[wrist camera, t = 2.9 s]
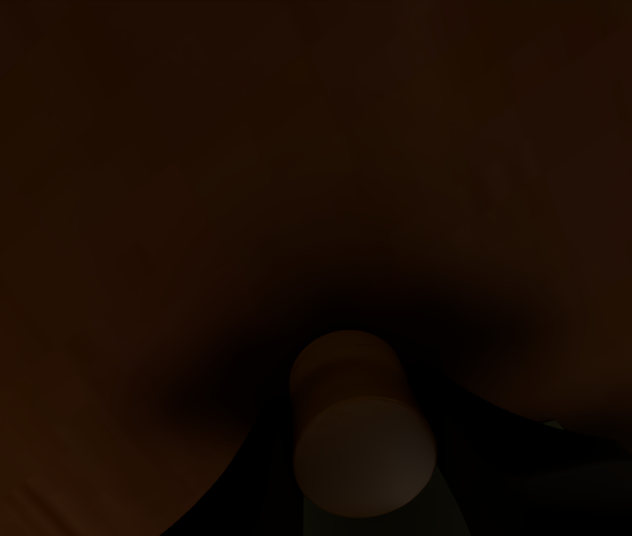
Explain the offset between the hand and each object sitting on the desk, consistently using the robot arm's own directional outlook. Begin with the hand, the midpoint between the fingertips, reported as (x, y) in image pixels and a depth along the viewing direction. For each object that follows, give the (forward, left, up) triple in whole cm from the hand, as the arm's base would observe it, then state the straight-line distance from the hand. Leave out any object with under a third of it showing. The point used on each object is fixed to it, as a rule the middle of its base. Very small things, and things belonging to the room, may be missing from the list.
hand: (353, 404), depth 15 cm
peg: (0, 0, -1) cm, 1 cm away
